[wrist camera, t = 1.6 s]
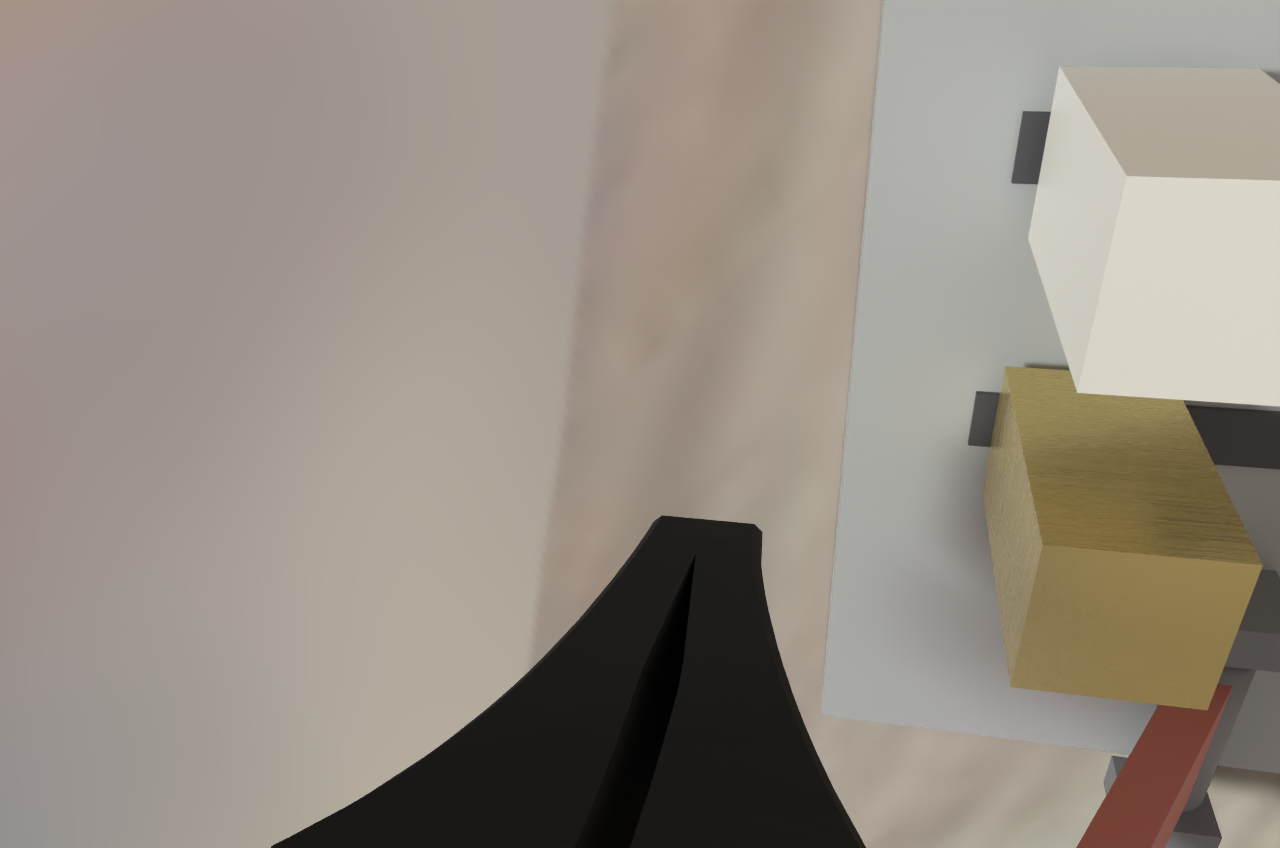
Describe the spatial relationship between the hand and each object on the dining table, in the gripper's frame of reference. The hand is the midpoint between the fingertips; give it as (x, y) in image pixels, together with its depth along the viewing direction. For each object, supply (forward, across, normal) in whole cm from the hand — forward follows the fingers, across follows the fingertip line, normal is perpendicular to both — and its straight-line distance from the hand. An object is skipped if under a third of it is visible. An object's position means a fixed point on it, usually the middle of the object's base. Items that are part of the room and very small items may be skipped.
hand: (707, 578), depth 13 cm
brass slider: (+4, -5, 0) cm, 7 cm away
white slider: (+4, -5, -4) cm, 8 cm away
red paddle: (+4, -8, +6) cm, 11 cm away
